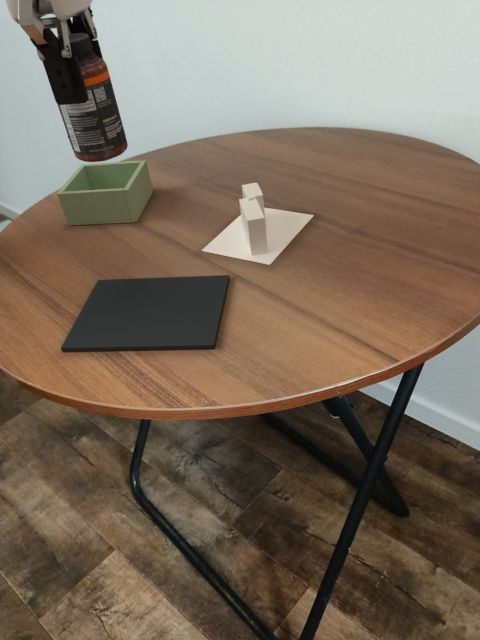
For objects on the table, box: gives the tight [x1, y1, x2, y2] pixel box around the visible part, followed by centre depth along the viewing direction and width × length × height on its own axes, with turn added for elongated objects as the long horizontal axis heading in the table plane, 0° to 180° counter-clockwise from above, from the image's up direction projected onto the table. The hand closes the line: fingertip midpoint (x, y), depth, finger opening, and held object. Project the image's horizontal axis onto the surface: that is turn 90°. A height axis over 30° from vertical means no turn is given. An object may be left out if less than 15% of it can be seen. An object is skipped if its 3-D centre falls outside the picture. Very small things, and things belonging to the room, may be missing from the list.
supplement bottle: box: [56, 33, 129, 163], centre depth 54 cm, size 6×6×11 cm
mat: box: [60, 274, 231, 353], centre depth 64 cm, size 18×14×1 cm
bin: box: [56, 160, 154, 227], centre depth 87 cm, size 12×12×6 cm
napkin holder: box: [200, 182, 315, 266], centre depth 75 cm, size 15×11×6 cm
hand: (83, 91), depth 53 cm, fingers closed on supplement bottle, 6 cm apart
